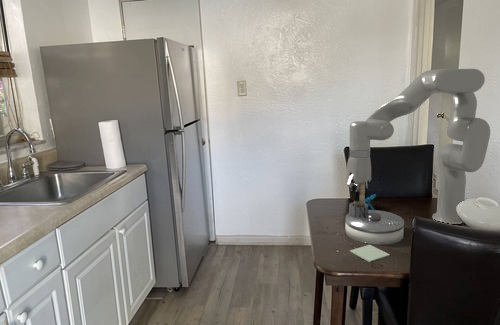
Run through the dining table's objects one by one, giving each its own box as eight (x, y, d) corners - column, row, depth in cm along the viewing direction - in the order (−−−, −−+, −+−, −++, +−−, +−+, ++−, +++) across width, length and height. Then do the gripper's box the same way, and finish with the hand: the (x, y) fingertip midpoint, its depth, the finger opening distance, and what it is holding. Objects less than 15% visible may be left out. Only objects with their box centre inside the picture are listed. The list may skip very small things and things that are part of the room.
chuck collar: (414, 222, 131) (415, 208, 130) (383, 238, 119) (383, 223, 118) (366, 209, 147) (366, 197, 146) (334, 222, 135) (334, 208, 134)
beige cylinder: (351, 211, 138) (352, 177, 136) (357, 208, 141) (357, 175, 138) (361, 213, 135) (361, 178, 133) (366, 210, 138) (367, 176, 135)
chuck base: (373, 219, 148) (373, 210, 147) (416, 236, 129) (416, 226, 128) (334, 229, 139) (334, 220, 138) (373, 249, 120) (374, 238, 119)
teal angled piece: (366, 200, 168) (378, 190, 160) (374, 211, 166) (386, 200, 158) (351, 208, 162) (362, 198, 155) (359, 219, 160) (371, 209, 152)
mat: (369, 245, 123) (369, 244, 123) (389, 255, 115) (389, 254, 115) (349, 251, 119) (349, 250, 119) (369, 262, 111) (369, 261, 111)
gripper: (364, 149, 141) (364, 193, 145) (337, 155, 132) (337, 202, 135) (381, 151, 135) (380, 196, 139) (353, 158, 126) (353, 206, 129)
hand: (359, 198), depth 137 cm, fingers closed on beige cylinder, 4 cm apart
